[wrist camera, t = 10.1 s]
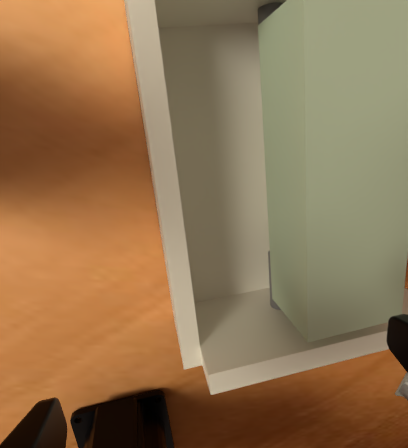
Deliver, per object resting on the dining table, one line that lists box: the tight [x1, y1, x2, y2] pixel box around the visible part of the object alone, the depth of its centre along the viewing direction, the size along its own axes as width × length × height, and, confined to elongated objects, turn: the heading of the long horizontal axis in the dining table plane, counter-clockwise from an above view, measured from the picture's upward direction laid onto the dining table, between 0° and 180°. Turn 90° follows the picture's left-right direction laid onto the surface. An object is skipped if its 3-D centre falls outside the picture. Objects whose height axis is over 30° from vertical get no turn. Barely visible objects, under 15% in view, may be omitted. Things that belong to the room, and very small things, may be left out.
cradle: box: [124, 0, 408, 395], centre depth 16 cm, size 18×14×7 cm
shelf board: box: [258, 0, 408, 342], centre depth 14 cm, size 14×5×4 cm, turn 7°
